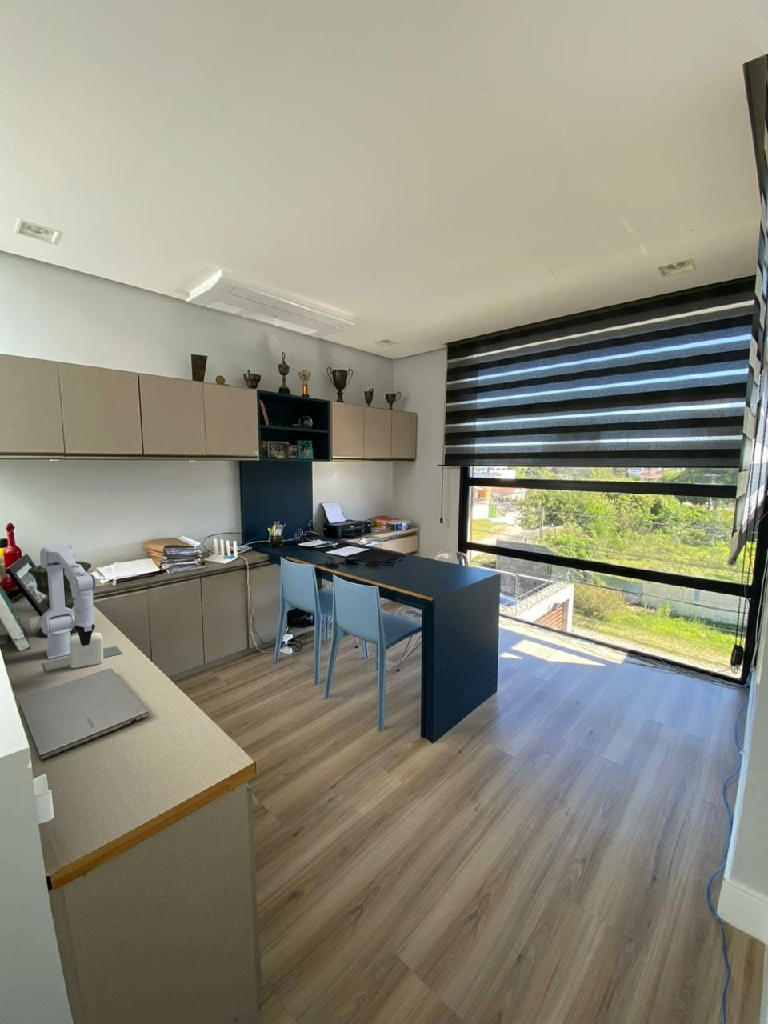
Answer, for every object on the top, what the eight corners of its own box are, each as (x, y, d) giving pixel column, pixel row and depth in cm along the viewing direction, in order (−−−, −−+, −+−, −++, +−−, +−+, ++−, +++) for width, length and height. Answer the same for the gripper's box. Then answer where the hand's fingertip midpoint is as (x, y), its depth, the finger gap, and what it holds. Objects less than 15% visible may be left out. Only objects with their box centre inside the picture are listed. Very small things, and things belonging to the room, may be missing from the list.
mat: (42, 663, 159) (42, 662, 159) (116, 646, 175) (116, 645, 175) (46, 672, 152) (46, 671, 152) (122, 653, 169) (122, 652, 169)
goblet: (30, 629, 193) (27, 565, 191) (89, 618, 208) (87, 559, 206) (32, 643, 177) (29, 574, 174) (96, 631, 192) (94, 567, 190)
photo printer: (103, 658, 163) (102, 628, 161) (103, 663, 160) (102, 633, 158) (70, 664, 157) (69, 633, 155) (69, 670, 154) (68, 638, 152)
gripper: (66, 606, 153) (68, 642, 154) (73, 615, 142) (75, 654, 143) (90, 602, 158) (91, 637, 159) (98, 611, 147) (99, 648, 148)
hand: (85, 645), depth 151 cm, fingers closed
